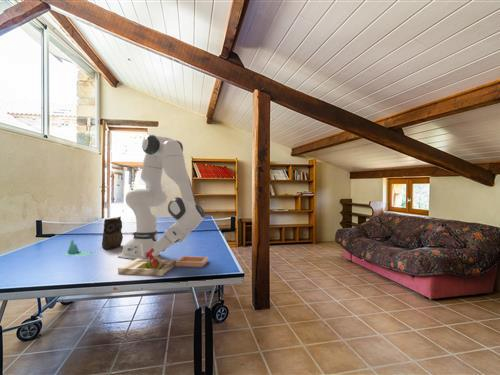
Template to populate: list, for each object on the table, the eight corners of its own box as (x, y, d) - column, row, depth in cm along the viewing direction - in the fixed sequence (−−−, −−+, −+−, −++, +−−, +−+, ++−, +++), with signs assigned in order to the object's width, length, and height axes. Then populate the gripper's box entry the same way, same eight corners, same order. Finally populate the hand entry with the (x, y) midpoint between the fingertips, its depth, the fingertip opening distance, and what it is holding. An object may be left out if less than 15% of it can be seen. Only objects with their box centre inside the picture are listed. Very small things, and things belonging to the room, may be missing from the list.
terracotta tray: (175, 266, 136) (175, 261, 136) (183, 260, 147) (183, 256, 147) (202, 267, 134) (202, 262, 134) (207, 261, 145) (207, 257, 145)
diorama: (84, 258, 151) (84, 242, 151) (55, 255, 156) (55, 240, 156) (100, 252, 163) (100, 238, 163) (73, 250, 167) (73, 237, 167)
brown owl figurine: (122, 245, 183) (123, 216, 183) (122, 249, 172) (122, 218, 172) (101, 246, 178) (102, 216, 178) (99, 250, 166) (100, 218, 166)
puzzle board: (118, 273, 124) (118, 268, 124) (136, 263, 141) (137, 258, 141) (161, 275, 122) (161, 269, 122) (175, 265, 138) (175, 260, 138)
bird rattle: (159, 273, 131) (142, 265, 131) (168, 252, 131) (151, 245, 131) (155, 277, 125) (137, 269, 125) (164, 256, 125) (147, 248, 125)
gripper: (181, 224, 137) (162, 243, 138) (164, 231, 117) (142, 252, 118) (189, 233, 137) (170, 252, 138) (173, 241, 117) (152, 263, 118)
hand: (157, 252), depth 128 cm, fingers open, 8 cm apart
